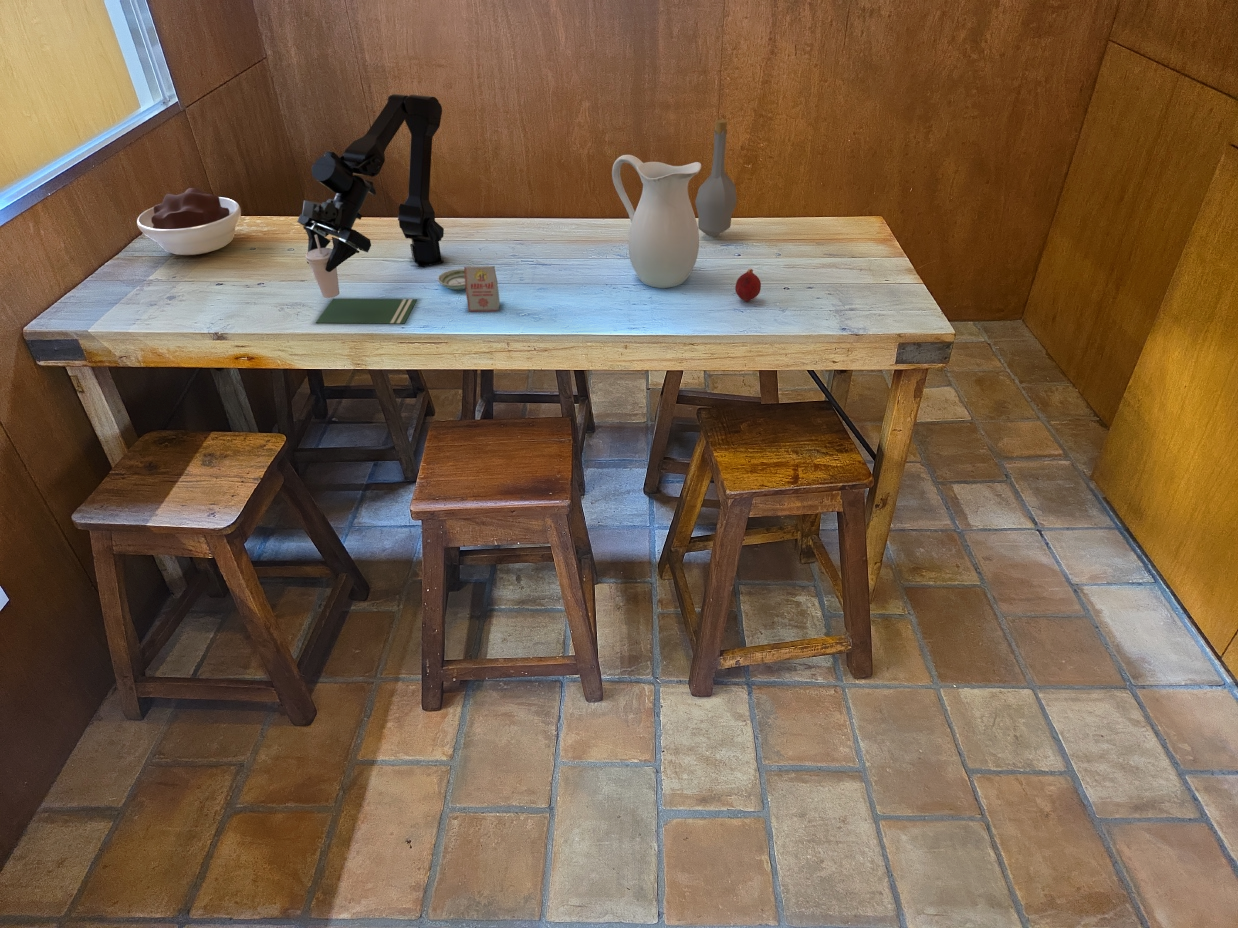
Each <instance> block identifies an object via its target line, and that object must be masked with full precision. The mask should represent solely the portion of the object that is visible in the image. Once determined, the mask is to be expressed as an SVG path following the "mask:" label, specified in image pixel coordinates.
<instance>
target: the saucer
mask: <svg viewBox="0 0 1238 928" xmlns="http://www.w3.org/2000/svg"><path fill="white" fill-rule="evenodd" d="M437 282H438V283H439V284H440V285H442V286H443V287H445V288H447V289H450V290H452V291H461V290H466V288H465V272H464V268H454V269H450V270H446V271H444V272H442V273H441V274H439V275H438V277H437Z"/></svg>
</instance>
